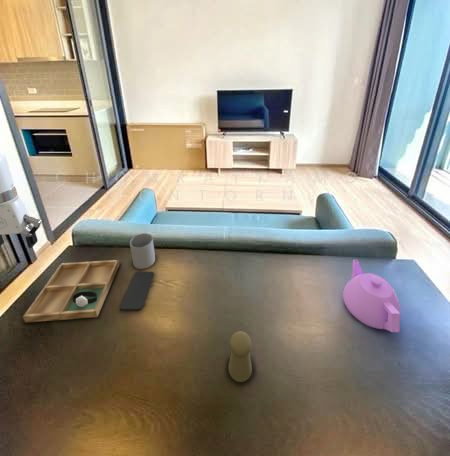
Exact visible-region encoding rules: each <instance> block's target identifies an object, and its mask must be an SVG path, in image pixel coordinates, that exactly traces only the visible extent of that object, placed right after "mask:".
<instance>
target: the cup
mask: <svg viewBox="0 0 450 456" xmlns="http://www.w3.org/2000/svg"><path fill="white" fill-rule="evenodd" d="M129 246H130V253H131V258H132V264H133V267H134V268H136V269H138V270H144V269H148V268H150V267H151V266H152V265H154V263H155V262H156V254H155V246H154V237H153V236H152V234H150V233H147V232H145V233H144V232H143V233H139V234H136V235H135V236H133V237H132V238H131V239H130V240H129Z"/></svg>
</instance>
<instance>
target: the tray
mask: <svg viewBox="0 0 450 456" xmlns="http://www.w3.org/2000/svg"><path fill="white" fill-rule="evenodd" d="M119 268H120V260H119V259H111V260H96V261H80V262H79V261H78V262H77V261H76V262H62V263H60V264H59V265H58V267H57V268H56V270H54V273H52V275H51V276H50V278H49V280H48V281H47V282H46V284H45V285H44V287H43V288H42V289H41V291H40V292H39V294H38V295H37V296H36V298H35V300H33V301H32V303H31V305H30V306H29V307H28V308H27V310H26V312H25V313H24V314H23V316H22V318H23V321H24V323H37V322H38V323H39V322H50V321H51V322H52V321H63V320H75V319H89V318H98V317H99V314H100V312H101V309H102V308H103V305H104V302H105V301H106V298H107V296H108V293H109V291H110V288H111V286H112V283H113V281H114V279H115V276H116V275H117V272H118V269H119ZM88 291H91V292H95V293H96V294H97V300H96V301H95V302H94V303H90V304H86V305H85V306H83V307H81V306H78V305H77V304H76V303H74V302H73V295H75V294H76V293H79V292H88ZM83 297H85V298H86V299H92V298H95V297H93V296H92V297H91V296H83Z"/></svg>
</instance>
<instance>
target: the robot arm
mask: <svg viewBox="0 0 450 456" xmlns="http://www.w3.org/2000/svg"><path fill="white" fill-rule="evenodd" d="M11 172H12V171H11V169H10V166H9V162H8V159H7V156H6V154H5V153H4V152H2V151H0V247H1V246H2V245H3V244H4V243H5V241H4V238H3V235H19V234H21V233H22V234H24V235H25V242H26V243H27V247H28V248H29V249H32V248H33V247H34V246H35V245H36V244H37V243H38V241H39V240H38V236H37V233H36V232H37V231H38V230H39V229H40V228H41V224H42V220H41V219H40V218H36V217H33V216H31V215H30V213H29V210H28V208H27V206H26V204H25V202H24V200H23V198H22V197H21V196H20V195H19V194H18V191H17V188H16V185H15V182H14V179H13V175H12V173H11Z"/></svg>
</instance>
